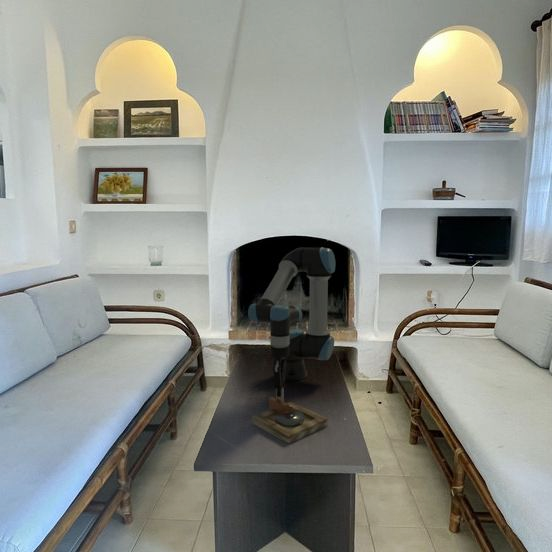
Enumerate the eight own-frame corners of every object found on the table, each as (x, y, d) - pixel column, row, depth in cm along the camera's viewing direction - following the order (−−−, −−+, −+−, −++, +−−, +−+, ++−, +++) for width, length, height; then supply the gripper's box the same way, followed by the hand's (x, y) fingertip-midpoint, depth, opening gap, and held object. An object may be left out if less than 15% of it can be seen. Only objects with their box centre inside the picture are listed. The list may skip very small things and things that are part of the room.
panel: (291, 408, 171) (291, 401, 171) (327, 425, 156) (327, 418, 156) (252, 423, 158) (252, 415, 158) (288, 443, 143) (288, 435, 143)
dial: (310, 420, 156) (310, 406, 156) (289, 429, 149) (289, 415, 148) (281, 406, 169) (281, 393, 168) (260, 414, 161) (260, 401, 161)
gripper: (274, 340, 169) (274, 395, 172) (266, 349, 157) (266, 409, 159) (292, 341, 167) (292, 397, 170) (285, 350, 155) (285, 411, 157)
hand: (279, 403), depth 165 cm, fingers closed
